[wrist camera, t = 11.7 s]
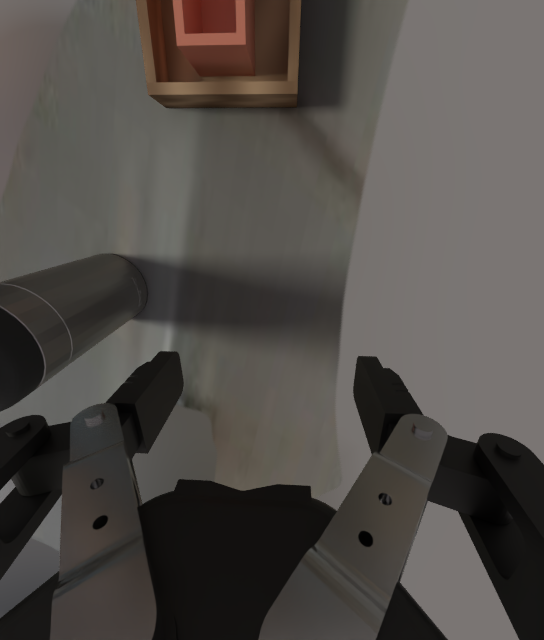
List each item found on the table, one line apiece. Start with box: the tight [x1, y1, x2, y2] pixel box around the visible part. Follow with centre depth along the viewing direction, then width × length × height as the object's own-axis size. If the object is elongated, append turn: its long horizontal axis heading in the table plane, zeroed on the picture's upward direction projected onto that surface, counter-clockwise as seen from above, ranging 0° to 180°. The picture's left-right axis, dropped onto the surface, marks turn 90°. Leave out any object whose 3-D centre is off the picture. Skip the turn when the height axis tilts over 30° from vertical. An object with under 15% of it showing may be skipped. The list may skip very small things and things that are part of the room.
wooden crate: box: [136, 0, 301, 108], centre depth 24 cm, size 14×14×4 cm
